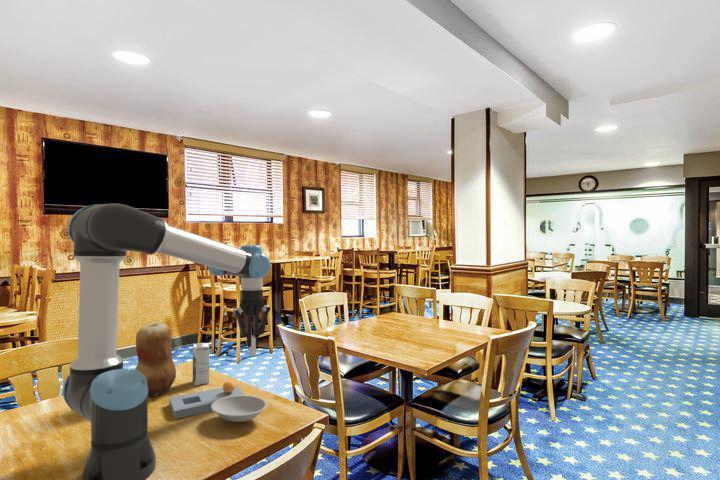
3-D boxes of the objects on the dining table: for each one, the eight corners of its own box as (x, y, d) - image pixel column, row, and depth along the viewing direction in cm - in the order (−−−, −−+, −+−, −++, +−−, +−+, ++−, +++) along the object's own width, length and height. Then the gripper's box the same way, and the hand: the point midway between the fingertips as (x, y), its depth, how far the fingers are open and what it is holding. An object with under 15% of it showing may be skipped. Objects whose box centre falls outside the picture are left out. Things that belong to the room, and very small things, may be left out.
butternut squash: (124, 398, 141) (123, 326, 141) (154, 384, 154) (153, 318, 154) (156, 403, 137) (156, 329, 137) (184, 389, 150) (184, 321, 150)
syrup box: (192, 381, 158) (192, 343, 158) (208, 378, 161) (208, 342, 160) (193, 386, 153) (192, 347, 153) (209, 383, 155) (209, 345, 155)
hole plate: (245, 403, 138) (245, 396, 138) (174, 419, 126) (174, 411, 126) (235, 391, 148) (235, 384, 148) (169, 405, 136) (169, 397, 136)
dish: (277, 415, 129) (277, 399, 129) (250, 436, 116) (250, 419, 115) (230, 407, 135) (230, 392, 135) (199, 426, 122) (199, 409, 121)
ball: (236, 393, 140) (236, 381, 140) (224, 395, 138) (224, 384, 138) (233, 389, 143) (233, 378, 143) (221, 391, 141) (221, 380, 141)
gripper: (266, 286, 151) (266, 349, 151) (230, 288, 144) (231, 355, 145) (273, 288, 144) (274, 354, 145) (236, 291, 138) (236, 361, 138)
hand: (252, 355), depth 145 cm, fingers closed
